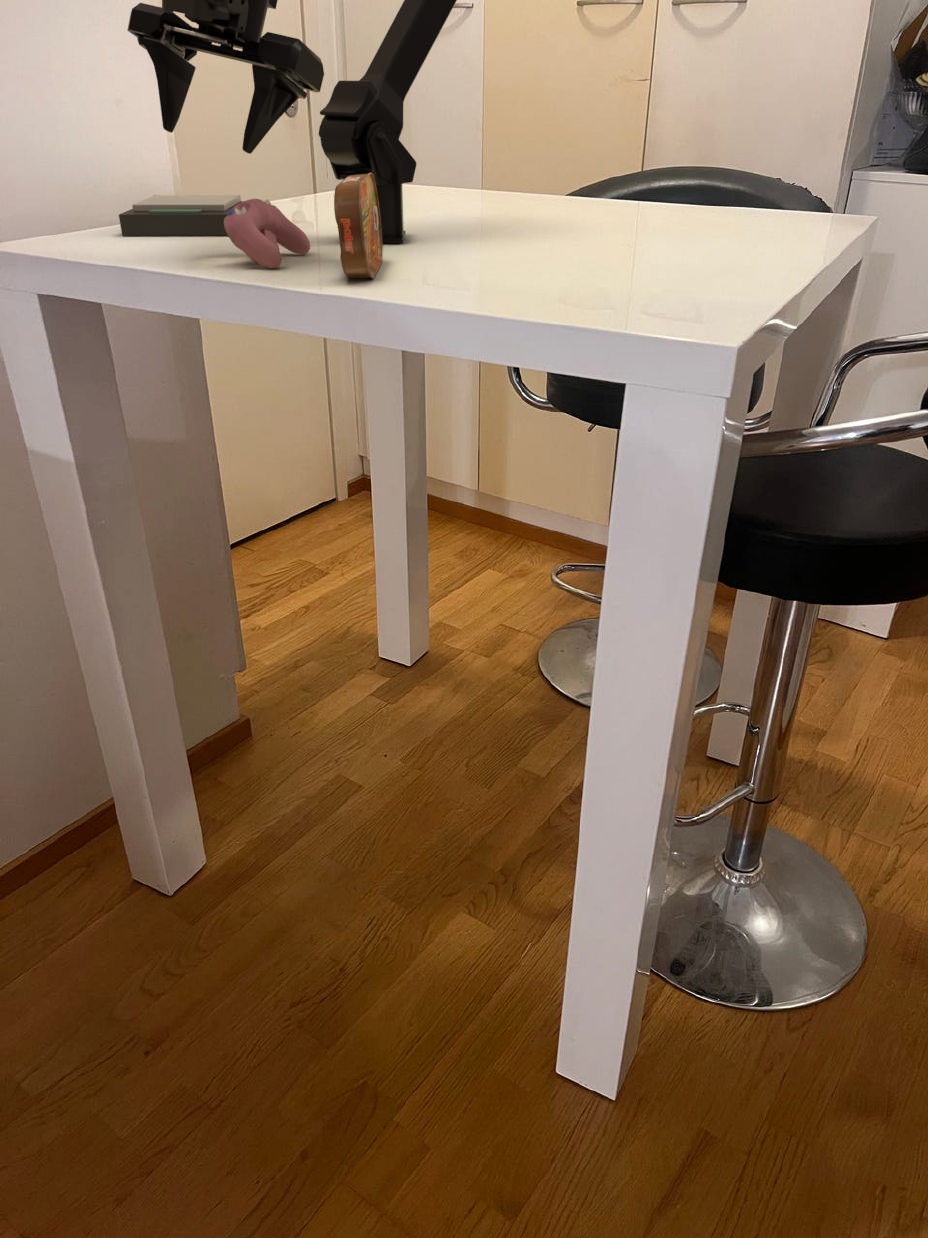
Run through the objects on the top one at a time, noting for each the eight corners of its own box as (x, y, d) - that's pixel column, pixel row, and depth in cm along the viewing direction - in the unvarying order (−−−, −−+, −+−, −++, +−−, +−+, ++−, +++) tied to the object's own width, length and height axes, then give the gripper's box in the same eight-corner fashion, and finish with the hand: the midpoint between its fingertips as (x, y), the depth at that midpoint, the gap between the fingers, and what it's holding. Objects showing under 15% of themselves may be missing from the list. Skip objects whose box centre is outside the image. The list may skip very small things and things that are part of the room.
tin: (370, 285, 85) (364, 183, 81) (335, 285, 85) (328, 183, 81) (385, 257, 98) (381, 168, 94) (355, 257, 98) (350, 168, 94)
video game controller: (282, 267, 102) (248, 204, 99) (316, 248, 100) (282, 183, 97) (245, 284, 93) (207, 216, 91) (282, 264, 91) (244, 193, 89)
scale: (251, 220, 123) (248, 194, 121) (231, 235, 112) (228, 206, 110) (152, 221, 123) (148, 194, 121) (122, 235, 111) (117, 206, 110)
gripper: (105, -99, 83) (72, 89, 86) (287, -62, 78) (243, 134, 82) (180, -35, 93) (147, 130, 97) (344, 1, 89) (303, 172, 92)
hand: (206, 141), depth 92 cm, fingers open, 9 cm apart
